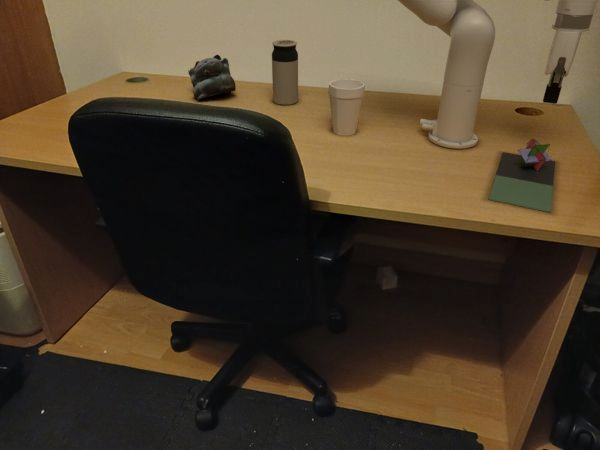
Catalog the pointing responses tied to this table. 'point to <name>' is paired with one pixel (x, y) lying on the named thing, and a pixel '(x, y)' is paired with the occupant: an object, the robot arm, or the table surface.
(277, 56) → the travel mug
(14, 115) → the table surface
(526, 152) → the geometric puzzle
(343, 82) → the foam cup
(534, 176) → the desk pad
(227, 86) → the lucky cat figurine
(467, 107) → the robot arm
